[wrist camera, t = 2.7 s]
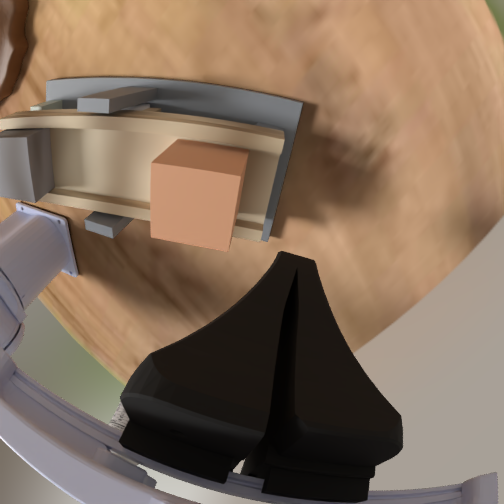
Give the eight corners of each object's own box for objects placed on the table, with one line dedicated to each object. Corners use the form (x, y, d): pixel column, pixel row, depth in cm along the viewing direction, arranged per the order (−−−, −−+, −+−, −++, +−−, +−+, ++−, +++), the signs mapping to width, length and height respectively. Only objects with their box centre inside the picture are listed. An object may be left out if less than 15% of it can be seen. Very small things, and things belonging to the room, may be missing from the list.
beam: (32, 178, 20) (-3, 206, 16) (26, 107, 16) (-16, 126, 12) (262, 216, 21) (258, 258, 17) (283, 127, 17) (285, 148, 13)
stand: (57, 180, 24) (13, 209, 19) (53, 79, 18) (-1, 94, 13) (269, 236, 22) (251, 289, 17) (303, 102, 16) (295, 114, 11)
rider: (173, 201, 18) (151, 237, 14) (178, 138, 15) (151, 162, 12) (238, 212, 18) (228, 252, 15) (249, 149, 15) (240, 176, 12)
